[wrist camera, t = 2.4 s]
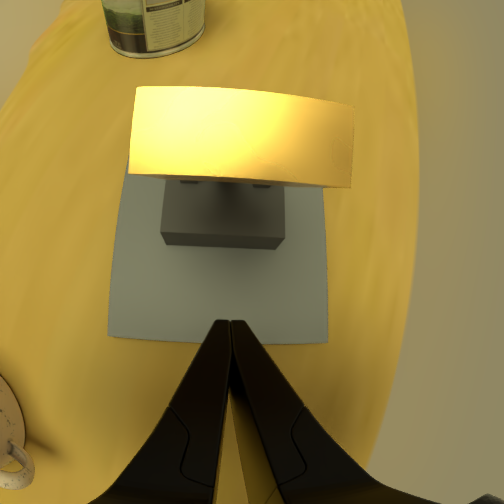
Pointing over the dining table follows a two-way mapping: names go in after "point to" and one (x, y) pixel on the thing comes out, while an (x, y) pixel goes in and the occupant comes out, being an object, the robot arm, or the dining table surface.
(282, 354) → the dining table surface
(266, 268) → the switch board
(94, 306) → the dining table surface
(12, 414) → the teacup with lid
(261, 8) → the dining table surface
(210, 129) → the lever
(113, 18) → the coffee can
